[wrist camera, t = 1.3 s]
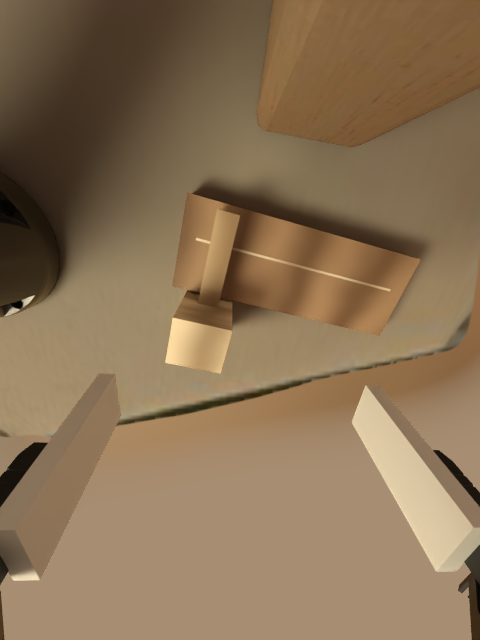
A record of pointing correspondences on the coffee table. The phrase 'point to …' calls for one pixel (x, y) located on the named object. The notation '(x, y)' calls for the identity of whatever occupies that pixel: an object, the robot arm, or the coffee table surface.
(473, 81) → the wooden block
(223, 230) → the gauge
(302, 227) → the board
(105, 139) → the coffee table surface
